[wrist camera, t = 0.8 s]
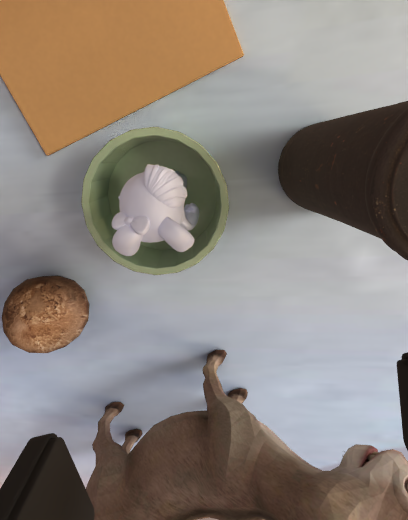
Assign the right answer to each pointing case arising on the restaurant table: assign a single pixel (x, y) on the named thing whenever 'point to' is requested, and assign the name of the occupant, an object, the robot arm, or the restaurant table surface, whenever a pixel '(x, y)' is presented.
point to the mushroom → (45, 314)
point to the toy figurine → (154, 211)
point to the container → (354, 172)
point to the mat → (105, 58)
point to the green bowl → (134, 162)
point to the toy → (235, 470)
